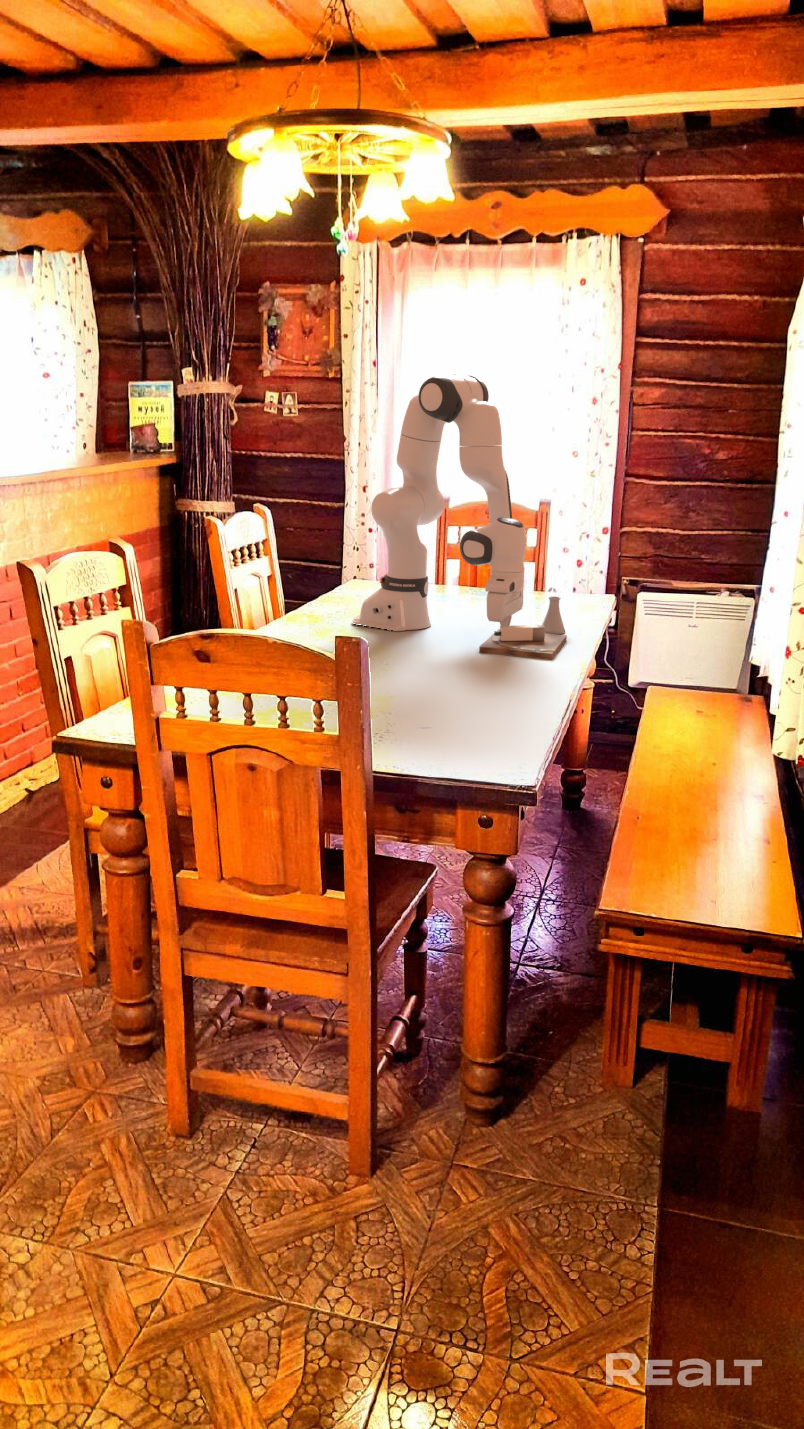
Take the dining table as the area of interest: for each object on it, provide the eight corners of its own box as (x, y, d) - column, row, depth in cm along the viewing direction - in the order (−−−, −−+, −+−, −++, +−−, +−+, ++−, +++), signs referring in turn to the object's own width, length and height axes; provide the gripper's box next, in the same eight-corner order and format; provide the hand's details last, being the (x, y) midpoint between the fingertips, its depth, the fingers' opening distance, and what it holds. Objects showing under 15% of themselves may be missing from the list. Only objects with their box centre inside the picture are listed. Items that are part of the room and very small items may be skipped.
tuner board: (479, 652, 270) (479, 645, 269) (498, 634, 290) (498, 628, 289) (552, 659, 264) (553, 653, 264) (567, 640, 284) (568, 634, 284)
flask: (564, 635, 290) (567, 600, 287) (538, 634, 291) (540, 599, 288) (565, 630, 297) (568, 595, 294) (540, 628, 298) (542, 594, 295)
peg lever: (542, 637, 280) (542, 624, 279) (546, 641, 276) (547, 627, 275) (492, 638, 278) (493, 625, 277) (496, 641, 274) (496, 628, 273)
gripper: (508, 574, 284) (505, 623, 289) (483, 585, 267) (481, 638, 271) (530, 575, 282) (527, 625, 286) (506, 588, 264) (504, 641, 268)
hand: (504, 632), depth 278 cm, fingers closed
